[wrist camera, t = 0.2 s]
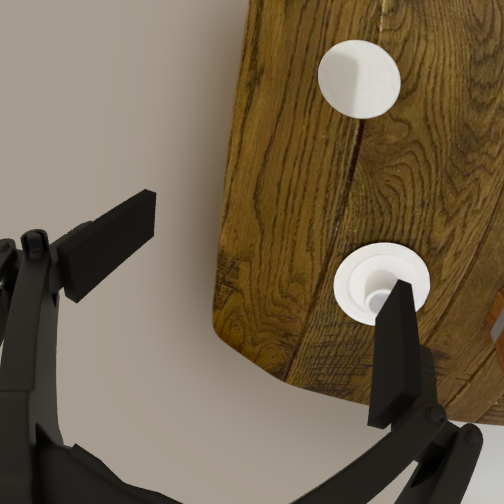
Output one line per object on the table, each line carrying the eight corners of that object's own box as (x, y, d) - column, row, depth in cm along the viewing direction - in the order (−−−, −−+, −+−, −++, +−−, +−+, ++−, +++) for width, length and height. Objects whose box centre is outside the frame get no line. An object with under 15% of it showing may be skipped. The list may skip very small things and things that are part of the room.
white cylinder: (335, 50, 26) (327, 30, 17) (390, 66, 25) (409, 55, 16) (323, 100, 29) (309, 105, 20) (377, 117, 28) (388, 130, 19)
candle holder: (444, 292, 34) (450, 314, 31) (369, 335, 41) (368, 357, 37) (395, 220, 32) (399, 237, 29) (314, 275, 39) (309, 295, 35)
